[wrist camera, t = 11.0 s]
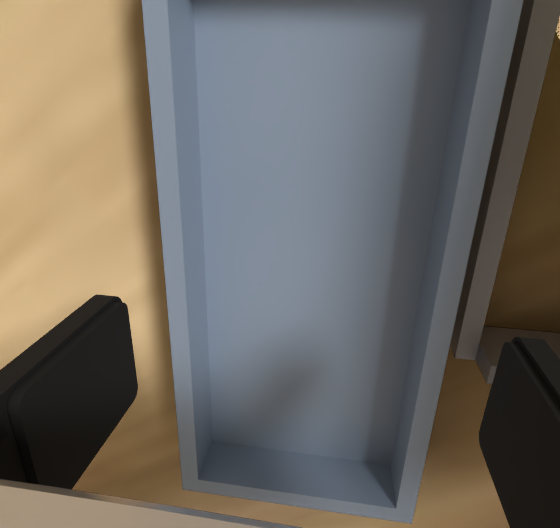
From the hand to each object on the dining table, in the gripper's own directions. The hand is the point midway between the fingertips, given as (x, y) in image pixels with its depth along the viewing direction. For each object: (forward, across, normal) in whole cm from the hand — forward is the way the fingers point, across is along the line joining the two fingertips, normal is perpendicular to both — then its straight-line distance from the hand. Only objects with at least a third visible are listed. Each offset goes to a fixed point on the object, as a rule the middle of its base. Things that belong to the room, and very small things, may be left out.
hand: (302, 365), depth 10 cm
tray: (+8, 0, 0) cm, 8 cm away
